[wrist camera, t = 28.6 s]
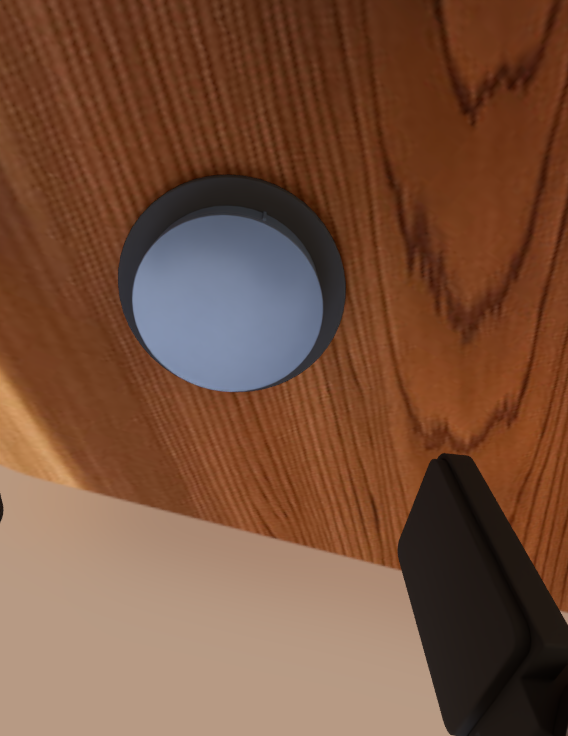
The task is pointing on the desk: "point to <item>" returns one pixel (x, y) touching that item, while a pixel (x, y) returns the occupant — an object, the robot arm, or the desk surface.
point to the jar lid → (228, 299)
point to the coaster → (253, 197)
